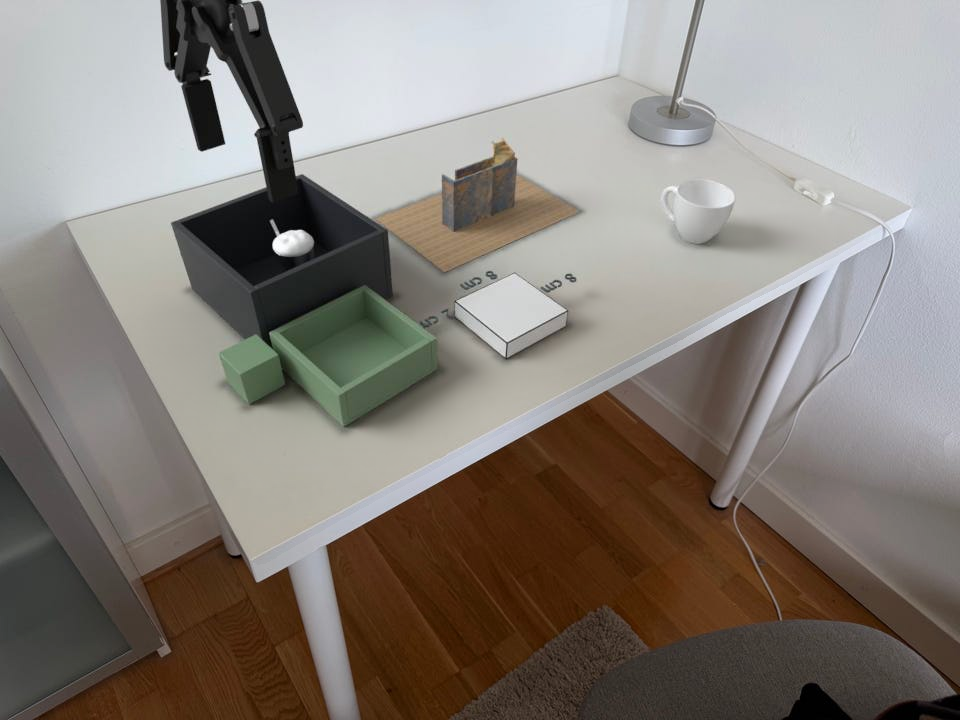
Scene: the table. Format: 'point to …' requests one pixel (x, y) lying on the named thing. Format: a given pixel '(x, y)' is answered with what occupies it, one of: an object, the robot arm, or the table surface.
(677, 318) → the table surface
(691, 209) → the cup
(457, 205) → the architectural model on board
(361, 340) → the green bin
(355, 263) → the dark bin
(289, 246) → the milkshake
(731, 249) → the table surface
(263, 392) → the green block
